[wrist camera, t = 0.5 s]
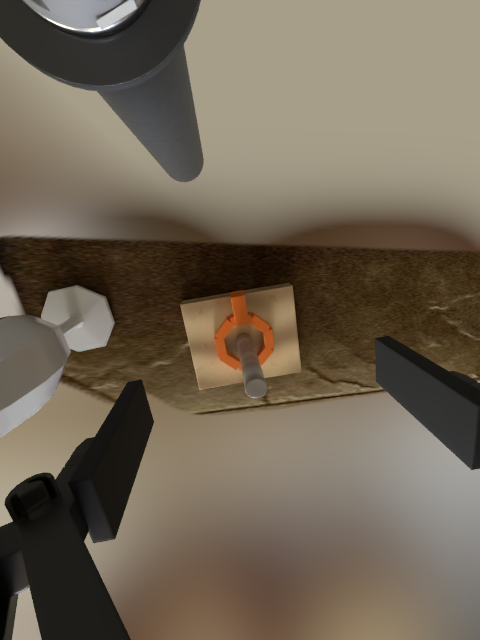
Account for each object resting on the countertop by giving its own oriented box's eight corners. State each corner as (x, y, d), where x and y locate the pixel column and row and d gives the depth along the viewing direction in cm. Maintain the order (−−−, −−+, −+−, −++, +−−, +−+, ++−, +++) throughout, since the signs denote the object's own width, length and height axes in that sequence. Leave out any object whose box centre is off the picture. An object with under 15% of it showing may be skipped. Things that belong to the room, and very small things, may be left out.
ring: (206, 296, 35) (205, 301, 32) (265, 286, 35) (269, 291, 32) (221, 370, 38) (221, 381, 35) (275, 360, 38) (279, 370, 35)
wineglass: (41, 280, 35) (-193, 347, 15) (116, 288, 36) (-10, 360, 16) (46, 346, 37) (-149, 480, 17) (116, 352, 38) (7, 485, 18)
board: (181, 300, 37) (162, 340, 24) (288, 282, 37) (329, 311, 24) (200, 382, 41) (192, 456, 27) (297, 365, 41) (336, 429, 28)
